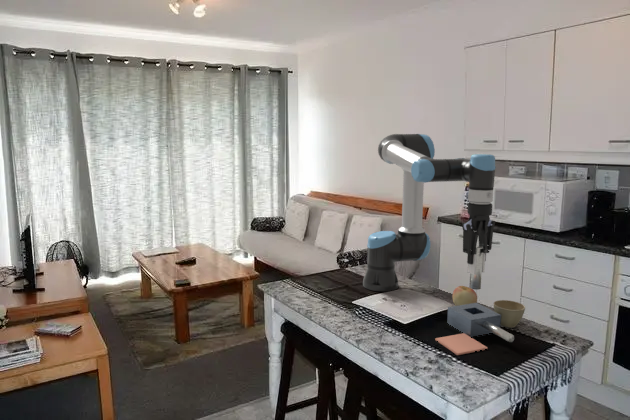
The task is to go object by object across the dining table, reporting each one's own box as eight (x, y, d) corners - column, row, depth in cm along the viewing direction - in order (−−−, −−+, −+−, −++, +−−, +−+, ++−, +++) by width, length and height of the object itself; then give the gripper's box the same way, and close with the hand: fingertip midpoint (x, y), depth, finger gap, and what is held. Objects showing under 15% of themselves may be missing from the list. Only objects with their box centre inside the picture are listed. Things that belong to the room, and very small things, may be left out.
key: (479, 291, 150) (482, 249, 147) (463, 285, 156) (465, 245, 153) (487, 289, 151) (490, 248, 149) (470, 283, 157) (473, 244, 155)
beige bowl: (526, 331, 153) (528, 311, 151) (495, 329, 154) (496, 309, 153) (520, 320, 162) (521, 300, 161) (490, 318, 164) (491, 298, 163)
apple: (453, 302, 179) (454, 282, 178) (477, 306, 176) (479, 286, 174) (450, 310, 172) (451, 289, 170) (475, 314, 168) (476, 293, 167)
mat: (435, 340, 146) (435, 338, 146) (463, 334, 150) (463, 333, 150) (457, 355, 136) (457, 353, 136) (487, 349, 140) (487, 347, 140)
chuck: (447, 323, 159) (447, 307, 158) (475, 318, 163) (476, 302, 162) (494, 352, 138) (495, 333, 137) (525, 346, 142) (527, 327, 141)
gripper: (471, 206, 142) (467, 279, 145) (507, 202, 150) (502, 271, 154) (453, 202, 148) (449, 273, 152) (487, 199, 156) (483, 265, 160)
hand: (475, 272), depth 153 cm, fingers closed on key, 4 cm apart
